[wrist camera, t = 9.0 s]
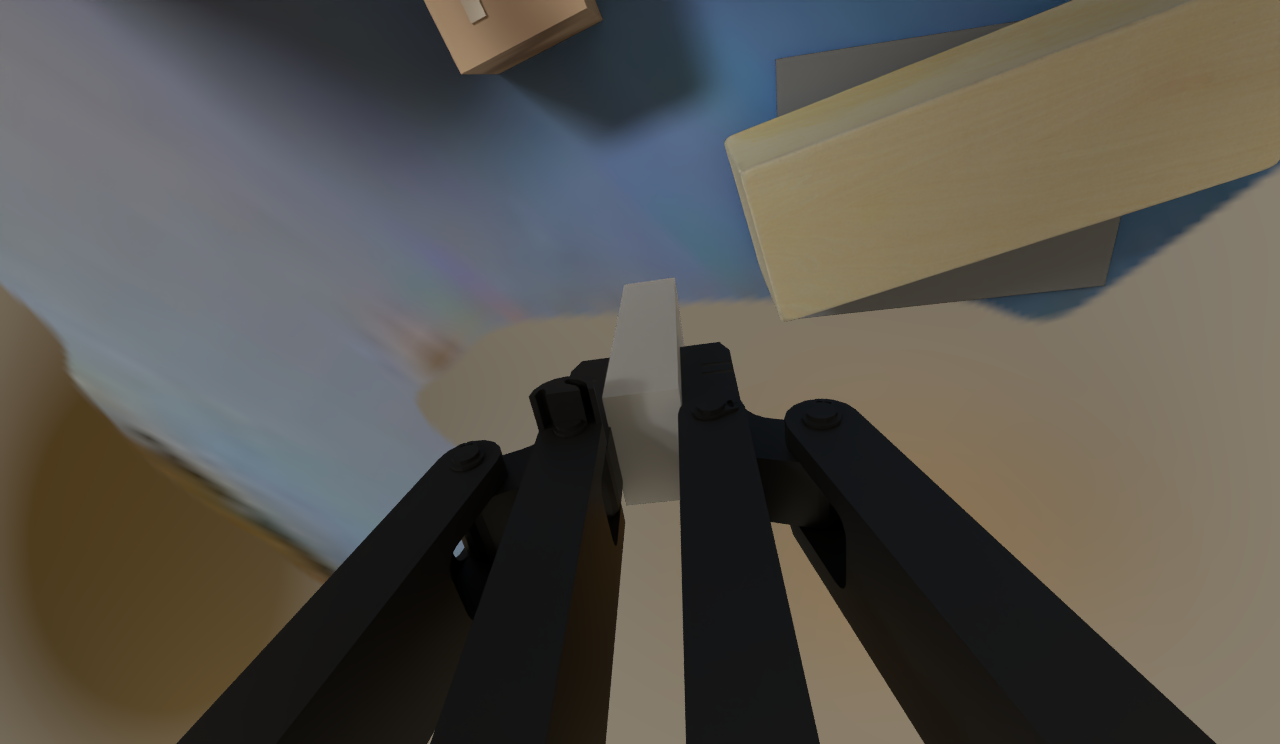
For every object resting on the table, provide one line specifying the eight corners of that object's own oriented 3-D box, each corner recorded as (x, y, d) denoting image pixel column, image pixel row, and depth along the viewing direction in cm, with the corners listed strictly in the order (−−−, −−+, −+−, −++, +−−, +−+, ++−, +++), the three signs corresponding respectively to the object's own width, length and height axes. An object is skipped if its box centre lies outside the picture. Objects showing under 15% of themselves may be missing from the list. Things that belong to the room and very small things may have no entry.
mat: (782, 317, 35) (784, 320, 35) (775, 59, 29) (776, 59, 28) (1099, 283, 33) (1104, 285, 33) (1166, -3, 27) (1173, -4, 26)
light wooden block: (759, 267, 34) (1156, 128, 29) (782, 328, 28) (1288, 166, 23) (719, 135, 30) (1173, -50, 25) (736, 174, 24) (1339, -61, 19)
